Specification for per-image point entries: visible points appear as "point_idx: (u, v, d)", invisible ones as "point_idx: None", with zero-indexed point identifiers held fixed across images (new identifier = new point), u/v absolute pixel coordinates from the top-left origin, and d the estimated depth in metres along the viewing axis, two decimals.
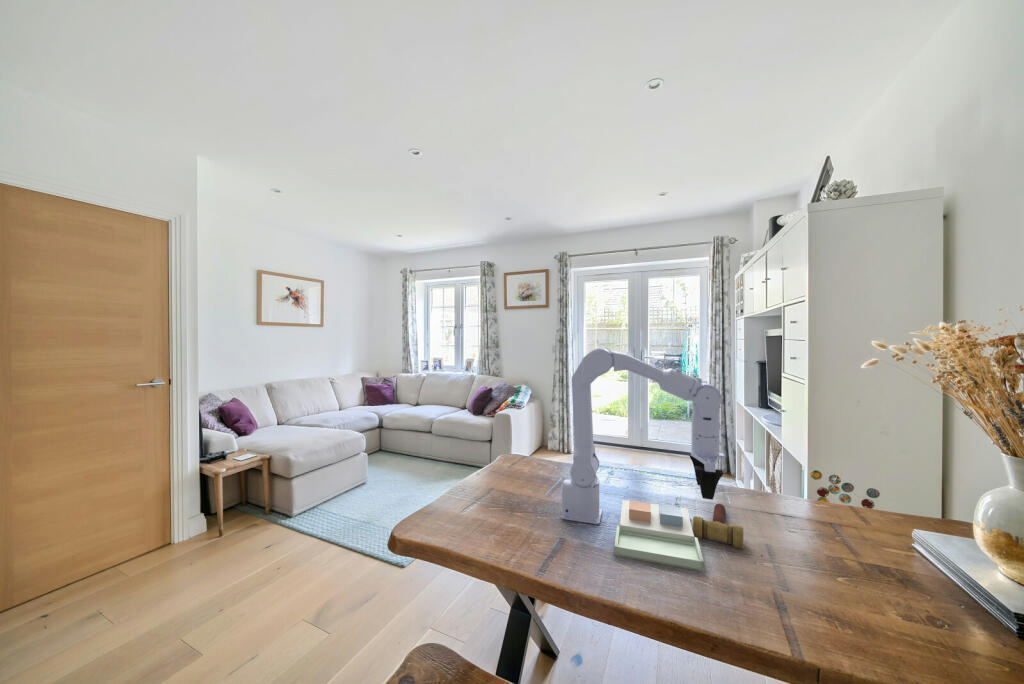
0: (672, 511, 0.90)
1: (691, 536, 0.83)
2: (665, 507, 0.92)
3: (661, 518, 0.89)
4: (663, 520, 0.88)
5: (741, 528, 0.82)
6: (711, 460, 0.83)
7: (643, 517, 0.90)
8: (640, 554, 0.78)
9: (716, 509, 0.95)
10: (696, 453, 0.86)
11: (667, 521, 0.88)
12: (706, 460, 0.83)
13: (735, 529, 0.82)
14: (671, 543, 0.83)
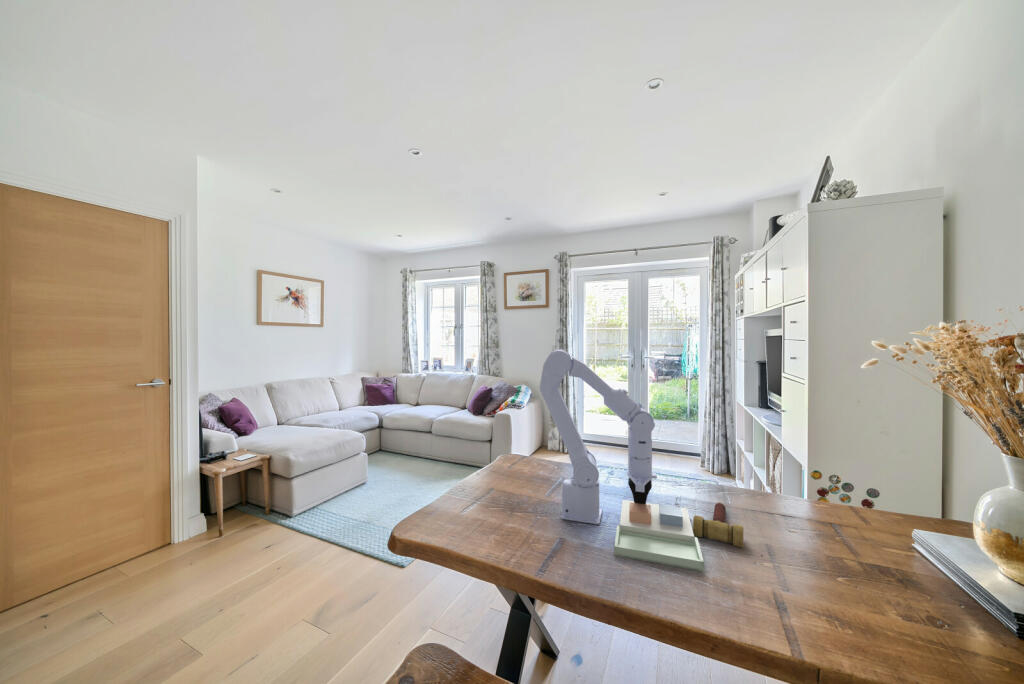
0: (672, 511, 0.90)
1: (691, 536, 0.83)
2: (665, 507, 0.92)
3: (661, 518, 0.89)
4: (663, 520, 0.88)
5: (741, 527, 0.83)
6: (642, 480, 0.90)
7: (643, 519, 0.89)
8: (640, 554, 0.78)
9: (716, 508, 0.96)
10: (631, 473, 0.94)
11: (667, 521, 0.88)
12: (638, 480, 0.90)
13: (735, 528, 0.83)
14: (671, 543, 0.83)
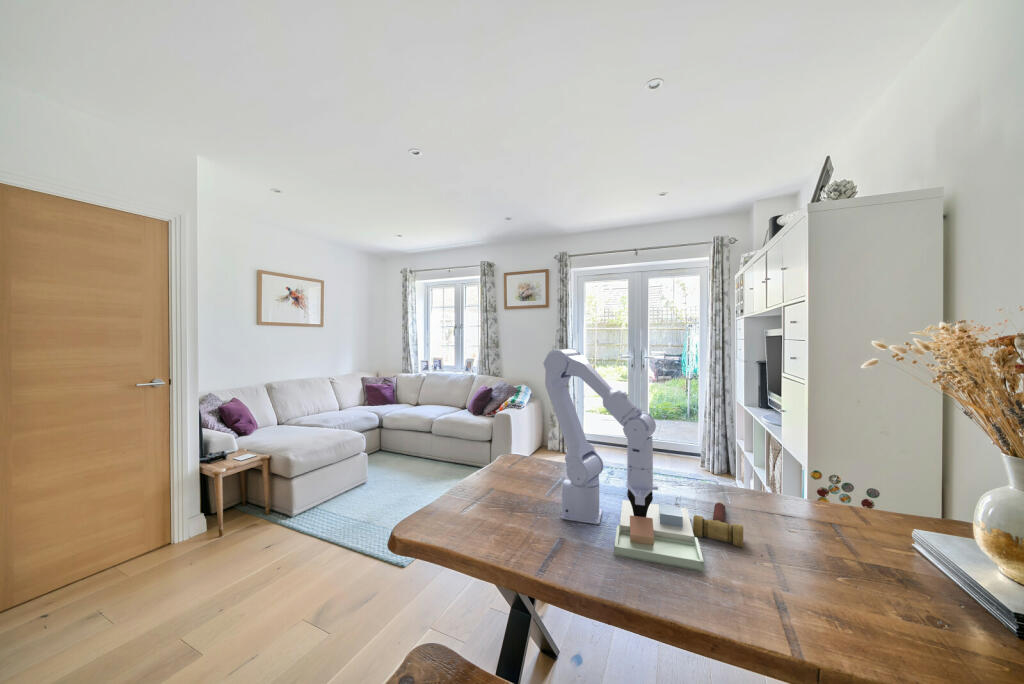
0: (672, 511, 0.90)
1: (691, 536, 0.83)
2: (665, 507, 0.92)
3: (661, 518, 0.89)
4: (663, 520, 0.88)
5: (741, 527, 0.83)
6: (642, 492, 0.83)
7: (645, 541, 0.83)
8: (640, 554, 0.78)
9: (716, 508, 0.96)
10: (630, 484, 0.87)
11: (667, 521, 0.88)
12: (638, 492, 0.84)
13: (735, 527, 0.83)
14: (671, 543, 0.83)
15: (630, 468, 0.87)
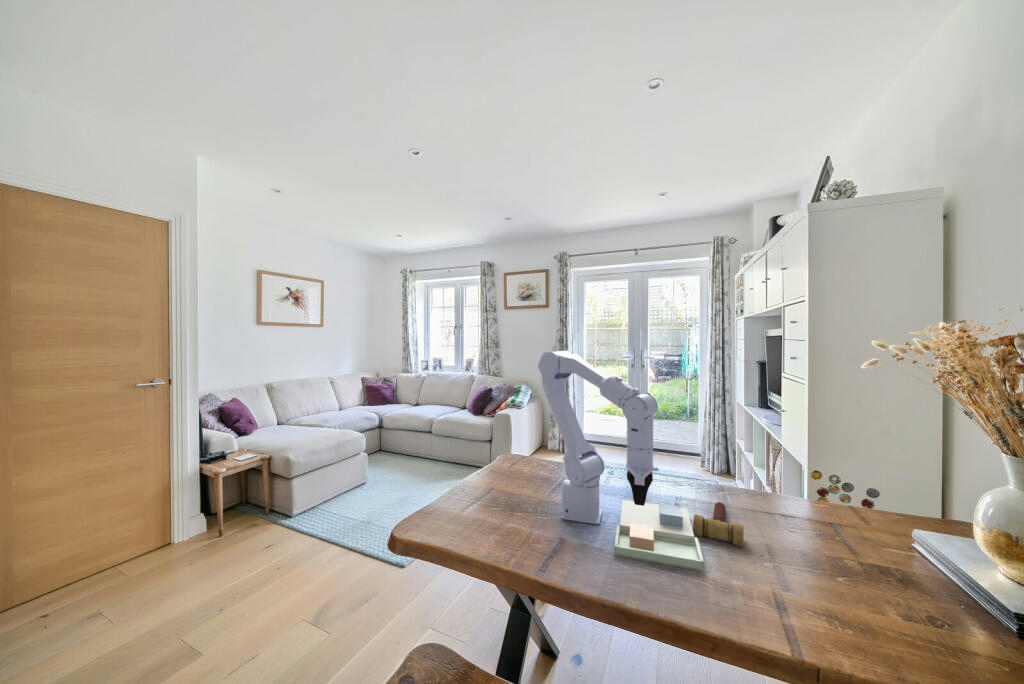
0: (672, 511, 0.90)
1: (691, 536, 0.83)
2: (665, 507, 0.92)
3: (661, 518, 0.89)
4: (663, 520, 0.88)
5: (741, 526, 0.83)
6: (642, 473, 0.81)
7: (645, 545, 0.81)
8: (640, 554, 0.78)
9: (716, 507, 0.96)
10: (630, 465, 0.85)
11: (667, 521, 0.88)
12: (637, 473, 0.82)
13: (735, 527, 0.83)
14: (671, 543, 0.83)
15: (630, 449, 0.85)
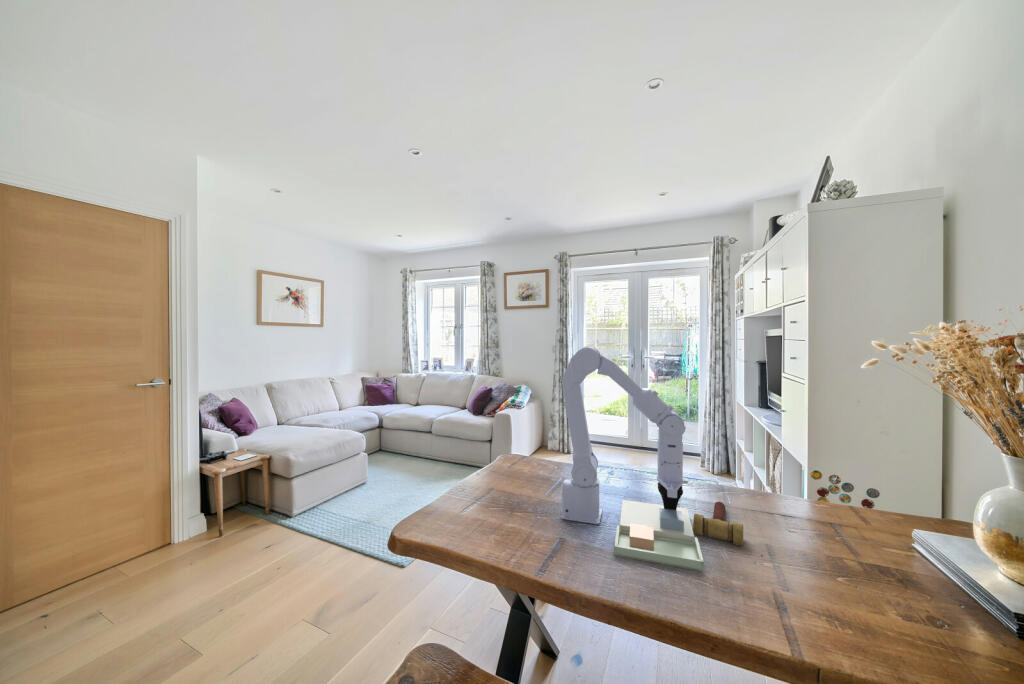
0: (673, 515, 0.88)
1: (691, 536, 0.83)
2: (666, 511, 0.90)
3: (662, 522, 0.87)
4: (664, 524, 0.86)
5: (741, 525, 0.84)
6: (674, 486, 0.87)
7: (645, 545, 0.81)
8: (640, 554, 0.78)
9: (716, 507, 0.97)
10: (661, 478, 0.90)
11: (668, 525, 0.86)
12: (669, 486, 0.87)
13: (735, 526, 0.84)
14: (671, 543, 0.83)
15: (661, 463, 0.90)
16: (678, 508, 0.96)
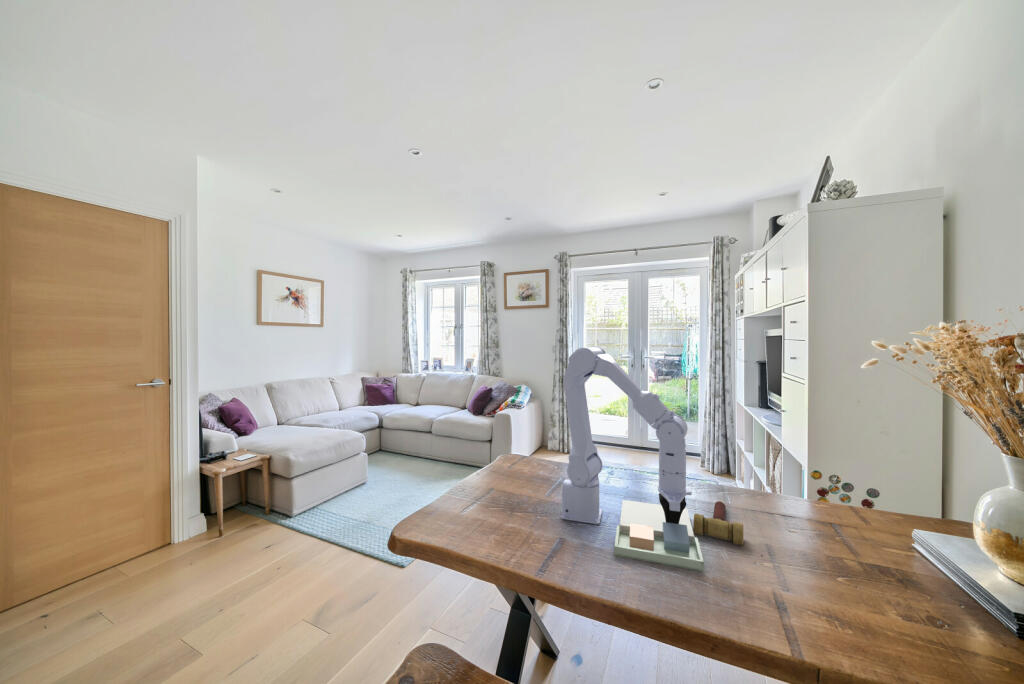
0: (678, 534, 0.81)
1: (691, 536, 0.83)
2: (670, 527, 0.83)
3: (666, 544, 0.81)
4: (668, 546, 0.81)
5: (741, 525, 0.84)
6: (676, 498, 0.81)
7: (645, 545, 0.81)
8: (640, 554, 0.78)
9: (716, 506, 0.97)
10: (662, 489, 0.84)
11: (672, 547, 0.80)
12: (671, 498, 0.81)
13: (735, 525, 0.84)
14: None
15: (662, 472, 0.84)
16: None
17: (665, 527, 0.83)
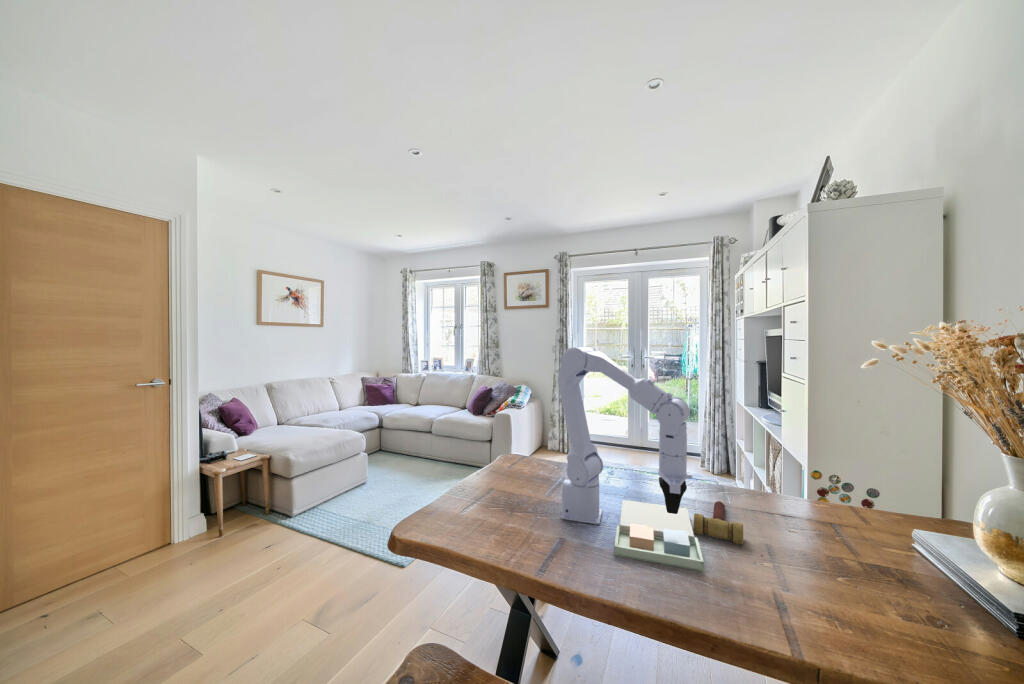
0: (678, 538, 0.81)
1: (691, 536, 0.83)
2: (670, 532, 0.83)
3: (666, 546, 0.80)
4: (668, 549, 0.79)
5: (741, 525, 0.84)
6: (677, 481, 0.79)
7: (645, 545, 0.81)
8: (640, 554, 0.78)
9: (716, 506, 0.97)
10: (663, 472, 0.83)
11: (672, 550, 0.79)
12: (672, 480, 0.79)
13: (735, 525, 0.84)
14: None
15: (663, 455, 0.83)
16: None
17: (665, 532, 0.83)
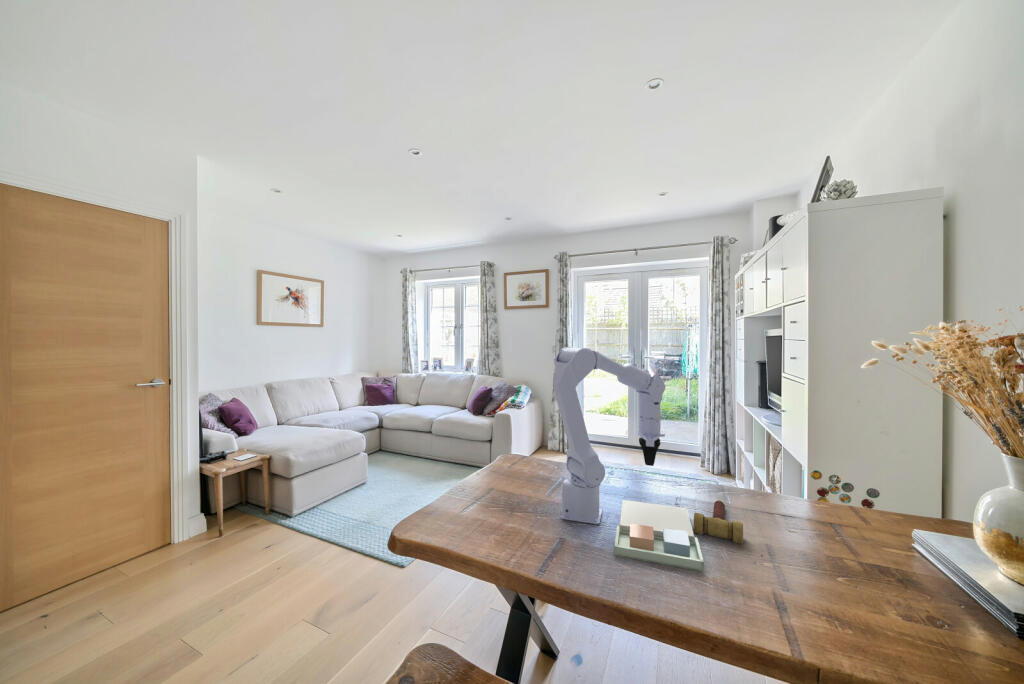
0: (678, 538, 0.81)
1: (691, 536, 0.83)
2: (670, 532, 0.83)
3: (666, 546, 0.80)
4: (668, 549, 0.79)
5: (741, 524, 0.84)
6: (652, 437, 1.00)
7: (645, 545, 0.81)
8: (640, 554, 0.78)
9: (716, 506, 0.97)
10: (641, 432, 1.03)
11: (672, 550, 0.79)
12: (648, 437, 1.00)
13: (735, 524, 0.84)
14: None
15: (641, 419, 1.03)
16: (678, 508, 0.96)
17: (665, 532, 0.83)
